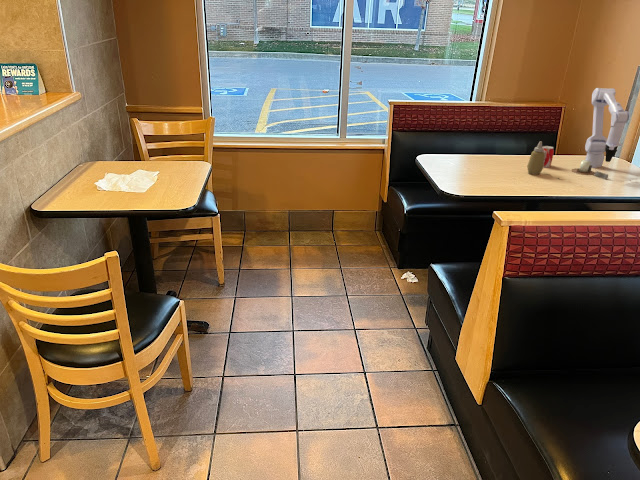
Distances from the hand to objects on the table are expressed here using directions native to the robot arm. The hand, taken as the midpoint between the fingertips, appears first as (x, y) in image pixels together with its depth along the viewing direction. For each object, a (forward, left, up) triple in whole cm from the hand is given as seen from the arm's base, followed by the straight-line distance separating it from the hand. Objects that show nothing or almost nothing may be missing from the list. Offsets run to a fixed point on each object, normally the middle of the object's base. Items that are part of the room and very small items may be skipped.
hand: (607, 160), depth 251 cm
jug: (+6, -8, -8) cm, 13 cm away
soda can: (+17, -25, -10) cm, 32 cm away
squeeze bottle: (+31, -19, -10) cm, 37 cm away
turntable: (+6, -4, -9) cm, 12 cm away
